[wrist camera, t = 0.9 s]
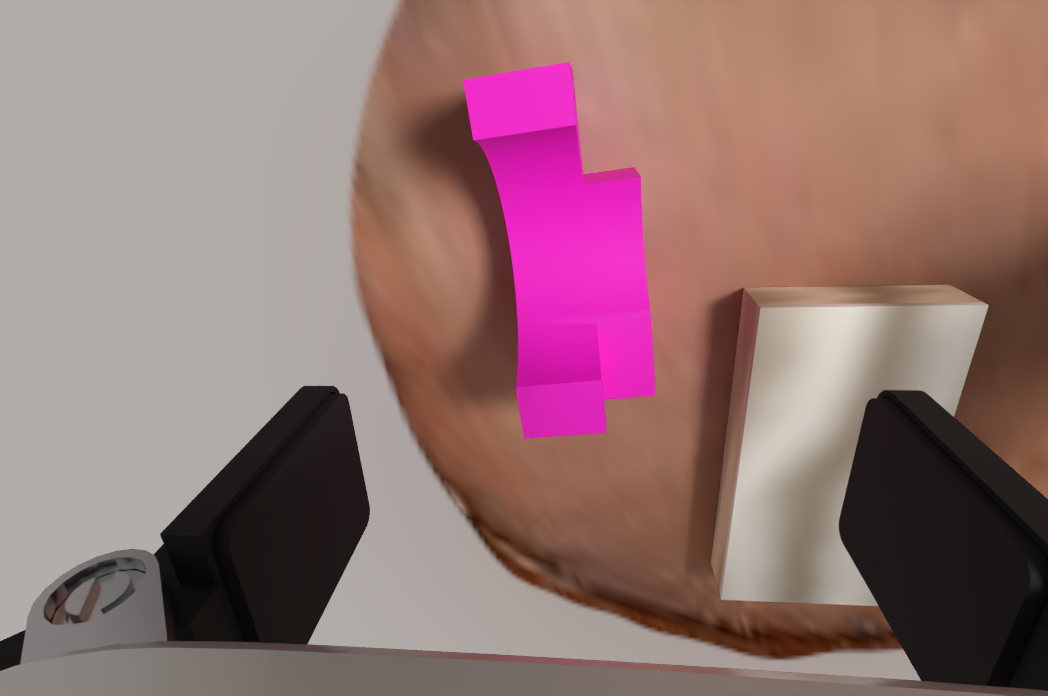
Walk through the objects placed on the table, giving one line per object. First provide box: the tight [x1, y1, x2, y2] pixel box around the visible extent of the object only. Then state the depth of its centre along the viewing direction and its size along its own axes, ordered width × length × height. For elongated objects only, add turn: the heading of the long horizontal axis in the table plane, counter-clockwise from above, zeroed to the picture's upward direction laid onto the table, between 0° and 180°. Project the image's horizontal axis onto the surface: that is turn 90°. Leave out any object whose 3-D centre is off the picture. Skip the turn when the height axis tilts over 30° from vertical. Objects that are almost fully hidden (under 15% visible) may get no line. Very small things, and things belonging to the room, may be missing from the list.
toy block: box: [463, 62, 655, 438], centre depth 26 cm, size 15×6×8 cm, turn 8°
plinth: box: [711, 285, 989, 606], centre depth 31 cm, size 10×19×3 cm, turn 3°
